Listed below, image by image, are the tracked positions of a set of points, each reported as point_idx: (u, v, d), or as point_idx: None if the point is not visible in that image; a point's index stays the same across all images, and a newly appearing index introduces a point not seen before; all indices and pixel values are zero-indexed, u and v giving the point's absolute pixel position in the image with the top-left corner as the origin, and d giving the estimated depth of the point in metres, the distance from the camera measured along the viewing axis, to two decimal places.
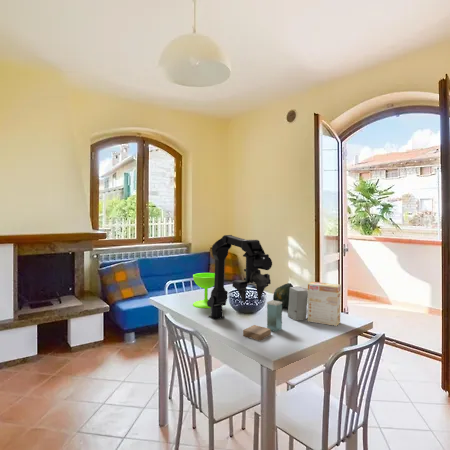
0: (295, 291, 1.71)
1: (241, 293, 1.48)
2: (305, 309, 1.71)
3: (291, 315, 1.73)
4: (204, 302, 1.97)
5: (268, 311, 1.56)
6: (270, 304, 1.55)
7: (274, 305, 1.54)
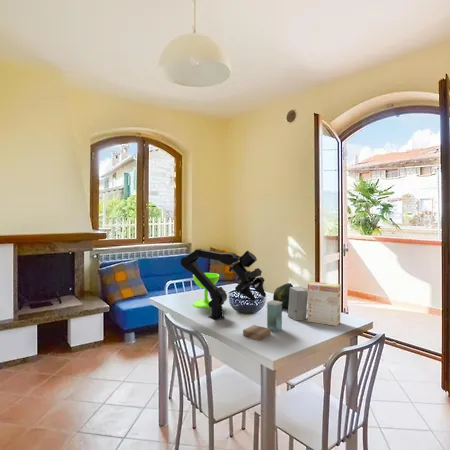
0: (295, 291, 1.71)
1: (247, 294, 1.59)
2: (305, 309, 1.71)
3: (291, 315, 1.73)
4: (204, 302, 1.97)
5: (268, 311, 1.56)
6: (270, 304, 1.55)
7: (274, 305, 1.54)
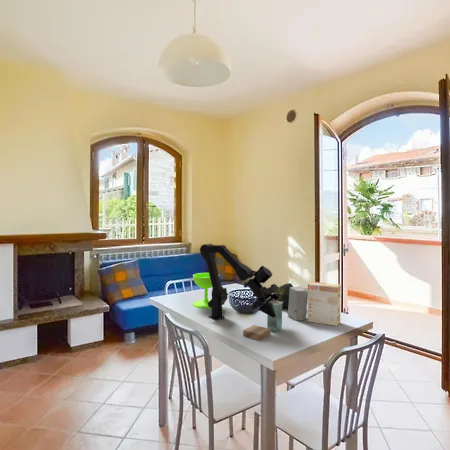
0: (295, 291, 1.71)
1: (266, 310, 1.55)
2: (305, 309, 1.71)
3: (291, 315, 1.73)
4: (204, 302, 1.97)
5: None
6: (270, 304, 1.55)
7: (274, 305, 1.54)
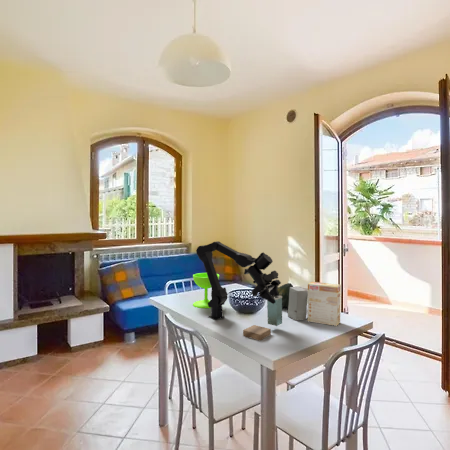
0: (295, 291, 1.71)
1: (266, 296, 1.55)
2: (305, 309, 1.71)
3: (291, 315, 1.73)
4: (204, 302, 1.97)
5: (268, 305, 1.56)
6: None
7: (274, 299, 1.54)
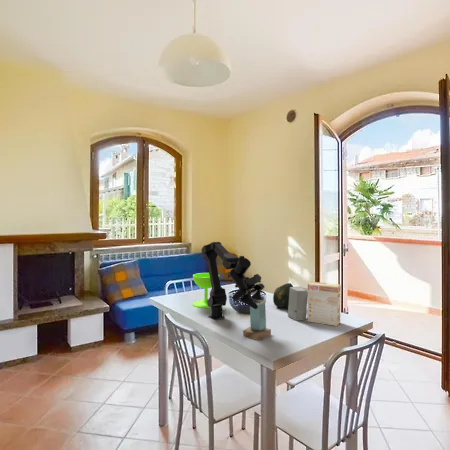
0: (295, 291, 1.71)
1: (248, 301, 1.47)
2: (305, 309, 1.71)
3: (291, 315, 1.73)
4: (204, 302, 1.97)
5: (250, 310, 1.48)
6: None
7: (256, 304, 1.46)
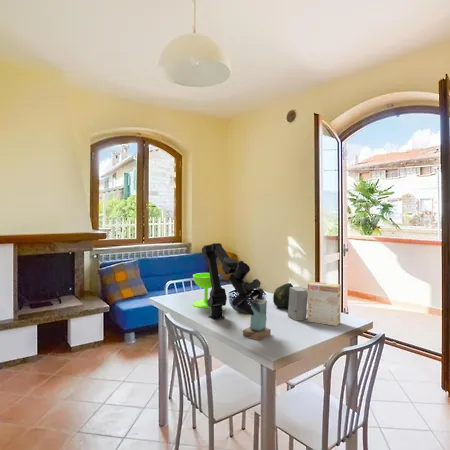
0: (295, 291, 1.71)
1: (245, 307, 1.46)
2: (305, 309, 1.71)
3: (291, 315, 1.73)
4: (204, 302, 1.97)
5: None
6: (254, 302, 1.47)
7: (258, 304, 1.46)
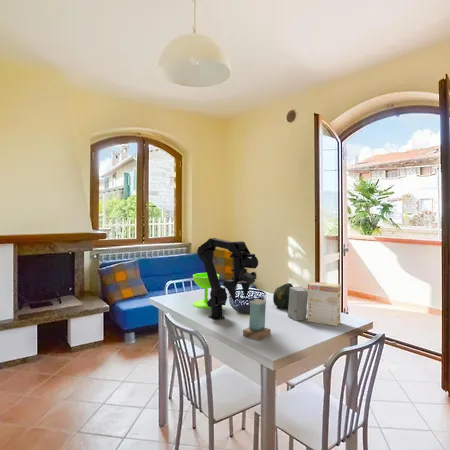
0: (295, 291, 1.71)
1: (231, 292, 1.59)
2: (305, 309, 1.71)
3: (291, 315, 1.73)
4: (204, 302, 1.97)
5: (250, 310, 1.48)
6: (253, 303, 1.47)
7: (257, 304, 1.46)
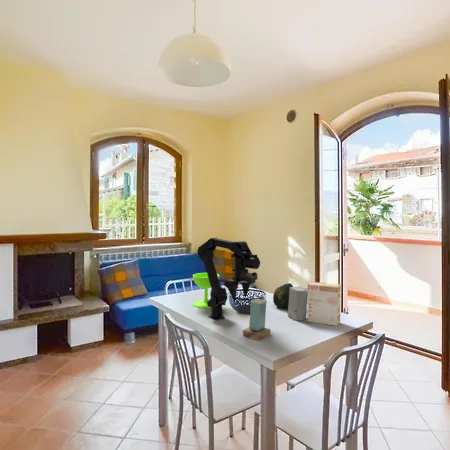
0: (295, 291, 1.71)
1: (232, 291, 1.59)
2: (305, 309, 1.71)
3: (291, 315, 1.73)
4: (204, 302, 1.97)
5: (251, 309, 1.49)
6: (254, 302, 1.48)
7: (258, 303, 1.46)
